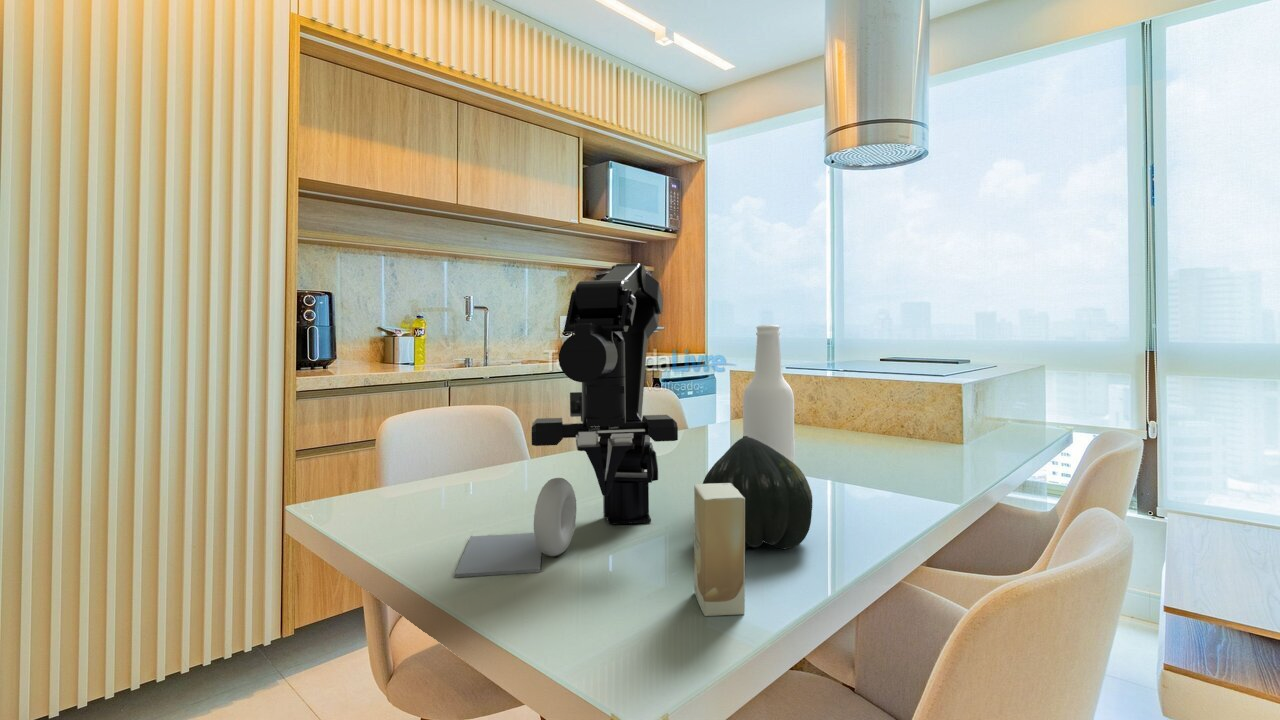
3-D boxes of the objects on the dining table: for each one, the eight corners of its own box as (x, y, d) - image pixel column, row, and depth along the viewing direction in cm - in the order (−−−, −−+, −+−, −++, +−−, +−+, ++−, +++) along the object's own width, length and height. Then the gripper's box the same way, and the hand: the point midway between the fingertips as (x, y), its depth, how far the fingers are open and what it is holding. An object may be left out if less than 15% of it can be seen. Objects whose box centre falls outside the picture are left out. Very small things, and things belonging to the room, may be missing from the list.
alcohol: (794, 490, 112) (793, 325, 111) (794, 503, 103) (794, 324, 102) (744, 488, 114) (744, 325, 113) (741, 501, 105) (740, 325, 104)
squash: (810, 529, 73) (808, 422, 82) (686, 524, 77) (697, 423, 86) (815, 574, 83) (813, 475, 92) (705, 568, 87) (714, 474, 97)
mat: (542, 535, 88) (542, 532, 88) (540, 572, 75) (539, 568, 75) (471, 539, 87) (470, 536, 87) (454, 577, 73) (454, 574, 73)
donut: (556, 569, 76) (555, 488, 75) (529, 567, 76) (528, 487, 76) (580, 542, 85) (579, 470, 85) (556, 540, 86) (555, 469, 86)
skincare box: (693, 592, 68) (692, 482, 68) (731, 590, 69) (731, 481, 68) (704, 618, 62) (703, 497, 61) (746, 616, 62) (746, 496, 62)
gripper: (662, 371, 90) (664, 477, 91) (533, 374, 88) (535, 483, 88) (678, 376, 79) (679, 497, 80) (530, 379, 76) (532, 504, 77)
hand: (605, 494), depth 81 cm, fingers closed
